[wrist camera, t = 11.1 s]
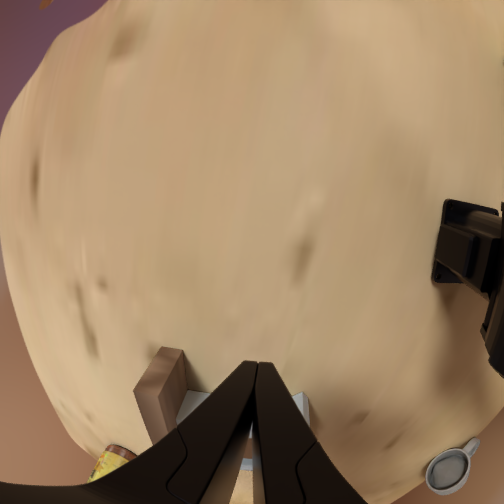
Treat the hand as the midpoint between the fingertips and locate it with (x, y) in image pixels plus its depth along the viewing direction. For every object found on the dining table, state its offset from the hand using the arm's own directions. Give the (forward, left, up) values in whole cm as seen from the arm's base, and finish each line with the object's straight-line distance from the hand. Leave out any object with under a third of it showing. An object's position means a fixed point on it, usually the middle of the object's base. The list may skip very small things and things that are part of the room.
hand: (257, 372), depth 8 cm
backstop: (+8, +18, -12) cm, 23 cm away
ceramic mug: (-32, +32, -12) cm, 47 cm away
